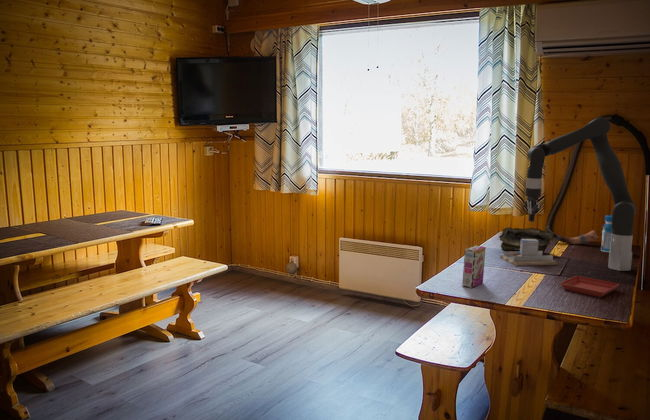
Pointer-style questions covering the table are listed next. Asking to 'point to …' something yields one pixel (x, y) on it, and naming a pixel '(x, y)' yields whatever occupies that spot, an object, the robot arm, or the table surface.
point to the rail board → (528, 262)
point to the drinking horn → (576, 238)
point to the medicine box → (529, 247)
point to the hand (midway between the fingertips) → (531, 221)
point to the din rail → (540, 257)
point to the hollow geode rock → (514, 236)
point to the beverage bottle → (606, 234)
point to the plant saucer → (589, 286)
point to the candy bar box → (473, 266)
